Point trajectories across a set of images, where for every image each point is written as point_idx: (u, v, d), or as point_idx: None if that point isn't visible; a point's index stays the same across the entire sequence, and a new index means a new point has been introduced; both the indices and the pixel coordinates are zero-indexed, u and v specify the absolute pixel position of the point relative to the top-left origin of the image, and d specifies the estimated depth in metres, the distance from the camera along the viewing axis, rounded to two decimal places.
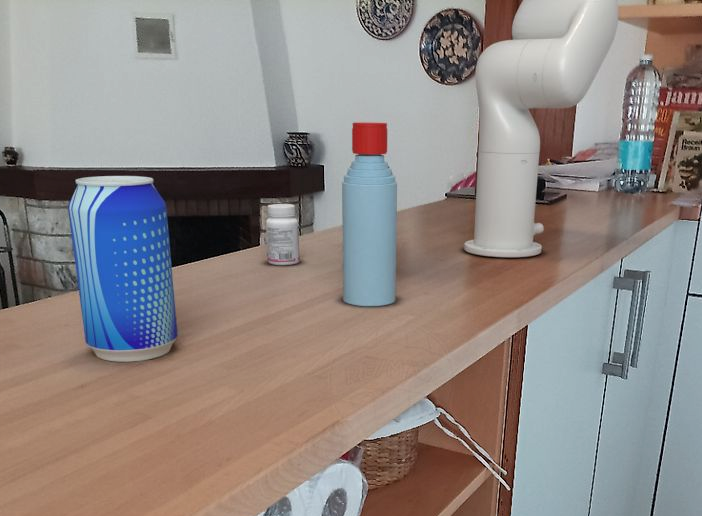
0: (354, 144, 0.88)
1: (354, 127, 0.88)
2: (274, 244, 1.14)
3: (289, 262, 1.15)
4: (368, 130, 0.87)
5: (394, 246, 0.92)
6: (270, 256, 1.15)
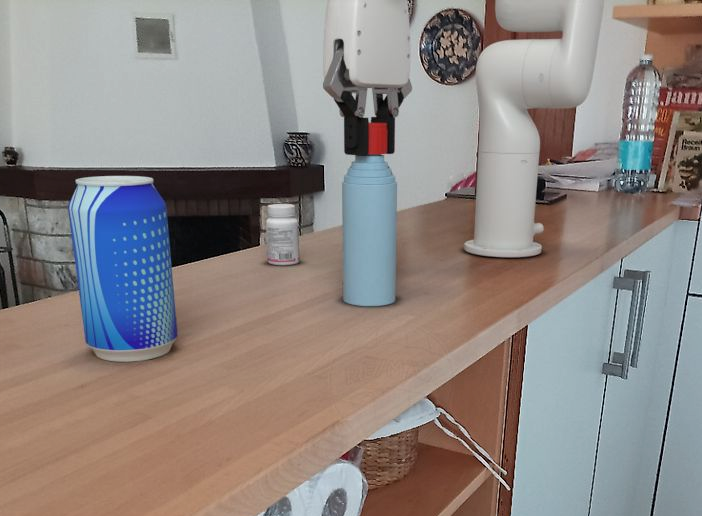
0: None
1: None
2: (274, 244, 1.14)
3: (289, 262, 1.15)
4: None
5: (394, 246, 0.92)
6: (270, 256, 1.15)
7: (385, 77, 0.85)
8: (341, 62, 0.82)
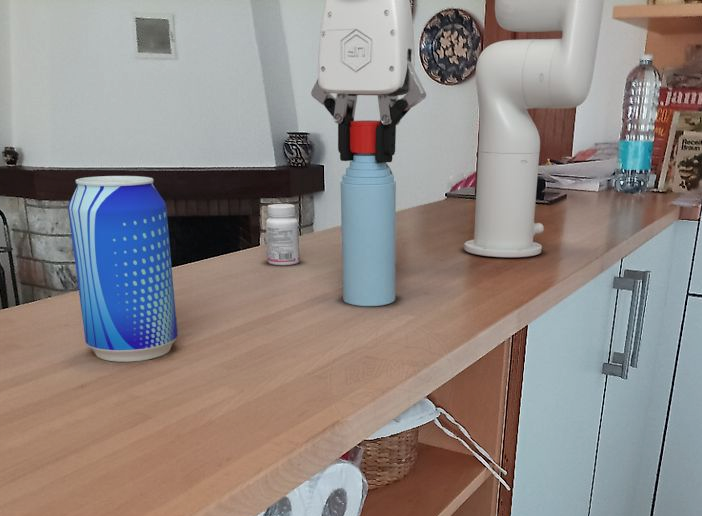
0: None
1: None
2: (274, 244, 1.14)
3: (289, 262, 1.15)
4: None
5: (393, 245, 0.92)
6: (270, 256, 1.15)
7: None
8: None
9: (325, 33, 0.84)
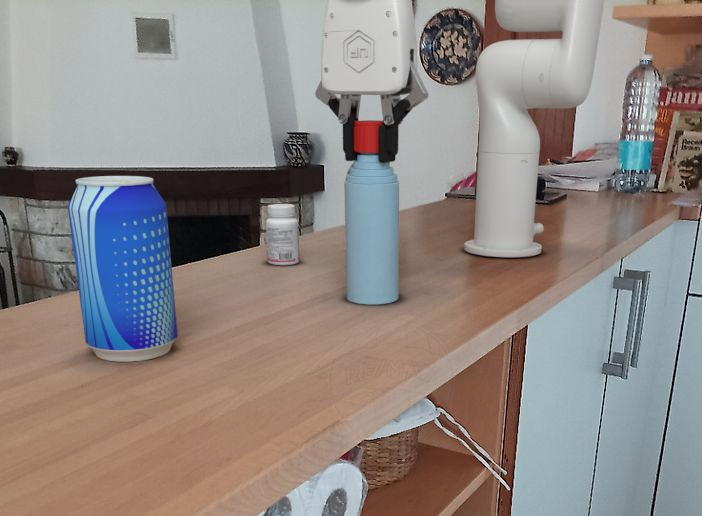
0: None
1: None
2: (274, 244, 1.14)
3: (289, 262, 1.15)
4: None
5: (397, 244, 0.93)
6: (270, 256, 1.15)
7: None
8: None
9: (328, 34, 0.84)
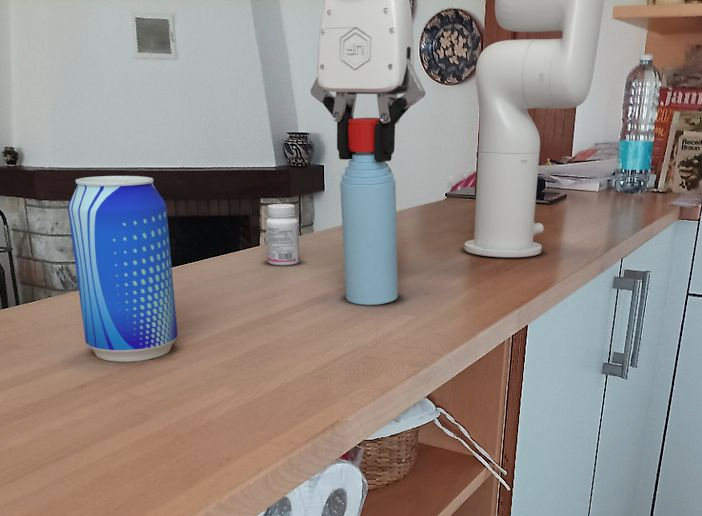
0: None
1: None
2: (274, 244, 1.14)
3: (289, 262, 1.15)
4: None
5: (395, 244, 0.92)
6: (270, 256, 1.15)
7: None
8: None
9: (324, 31, 0.84)
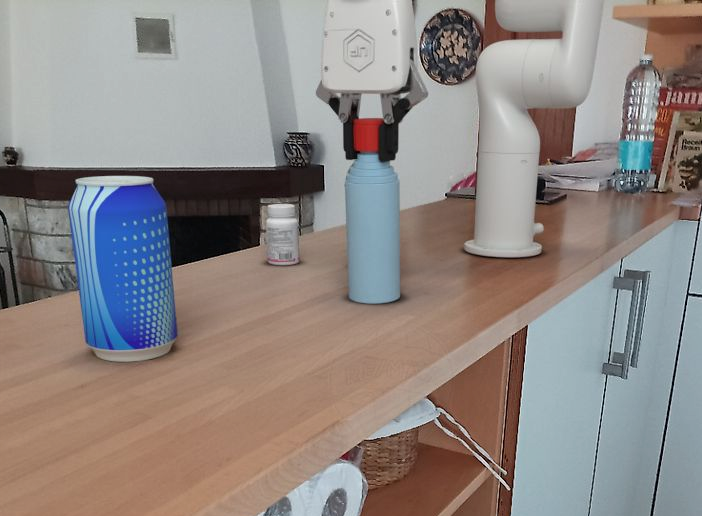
0: None
1: None
2: (274, 244, 1.14)
3: (289, 262, 1.15)
4: None
5: (398, 243, 0.93)
6: (270, 256, 1.15)
7: None
8: None
9: (328, 33, 0.85)
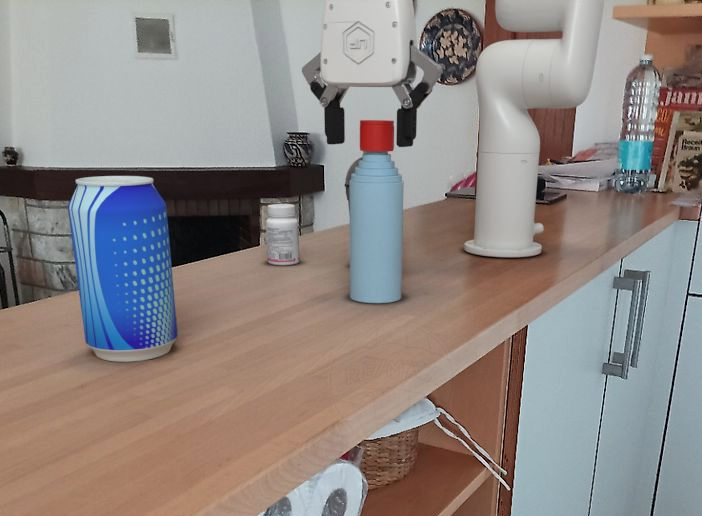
0: None
1: None
2: (274, 244, 1.14)
3: (289, 262, 1.15)
4: None
5: (401, 244, 0.94)
6: (270, 256, 1.15)
7: None
8: None
9: (327, 25, 0.84)
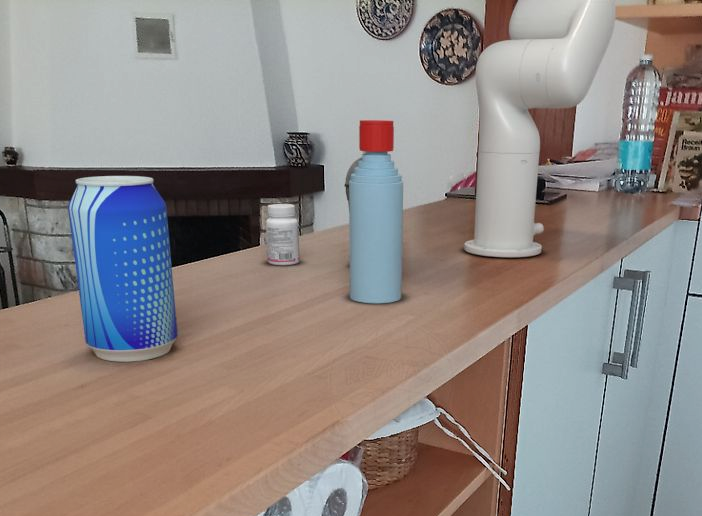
0: None
1: None
2: (274, 244, 1.14)
3: (289, 262, 1.15)
4: None
5: (400, 244, 0.94)
6: (270, 256, 1.15)
7: None
8: None
9: None
